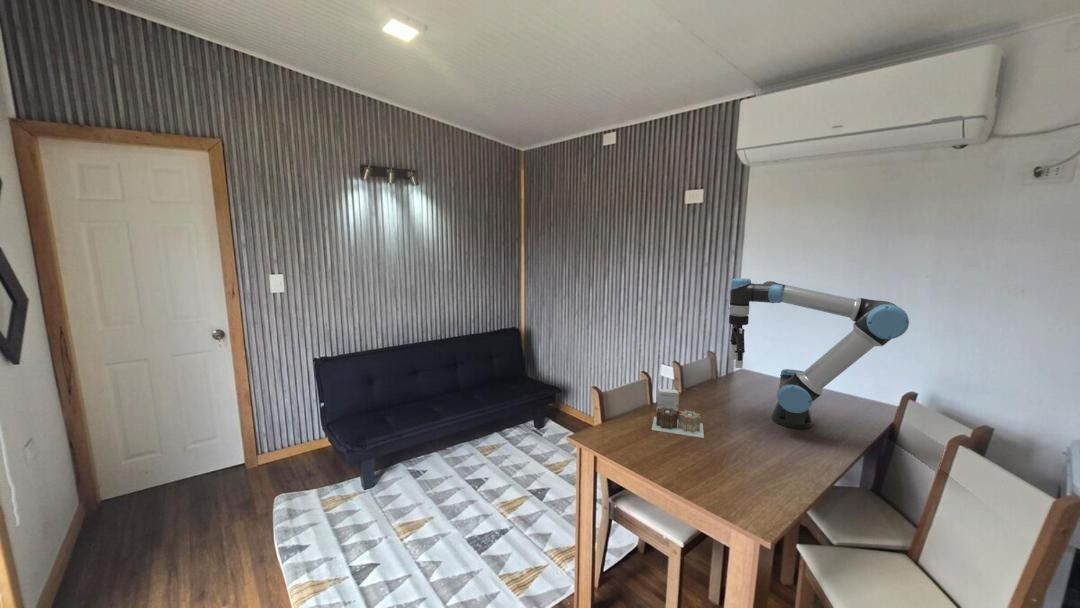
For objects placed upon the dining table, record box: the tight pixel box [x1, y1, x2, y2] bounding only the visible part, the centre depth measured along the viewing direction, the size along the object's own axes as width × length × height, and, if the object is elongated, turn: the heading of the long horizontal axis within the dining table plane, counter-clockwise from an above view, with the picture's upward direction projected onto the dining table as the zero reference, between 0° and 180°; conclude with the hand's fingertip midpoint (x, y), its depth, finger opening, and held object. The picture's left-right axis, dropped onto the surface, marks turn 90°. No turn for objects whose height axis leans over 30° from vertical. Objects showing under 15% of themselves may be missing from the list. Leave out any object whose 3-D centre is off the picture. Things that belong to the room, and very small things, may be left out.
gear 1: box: [656, 407, 679, 429], centre depth 176 cm, size 8×8×6 cm
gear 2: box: [678, 409, 702, 433], centre depth 173 cm, size 8×8×6 cm
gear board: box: [651, 411, 705, 439], centre depth 175 cm, size 20×14×7 cm
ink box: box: [655, 388, 680, 412], centre depth 188 cm, size 9×5×12 cm, turn 84°
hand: (736, 363), depth 181 cm, fingers open, 13 cm apart
